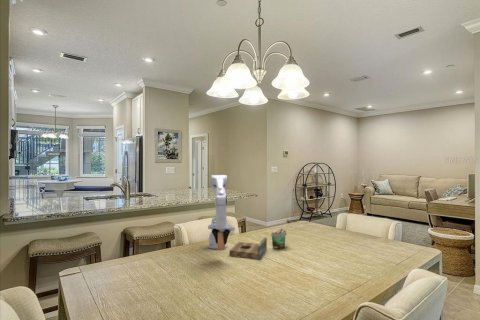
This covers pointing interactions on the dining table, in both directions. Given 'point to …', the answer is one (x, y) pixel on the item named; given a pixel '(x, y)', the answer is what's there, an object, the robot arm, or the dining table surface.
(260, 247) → the socket block
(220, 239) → the peg
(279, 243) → the food container
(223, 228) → the robot arm
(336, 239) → the dining table surface
